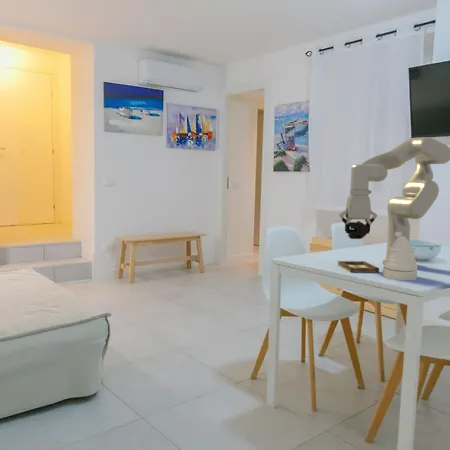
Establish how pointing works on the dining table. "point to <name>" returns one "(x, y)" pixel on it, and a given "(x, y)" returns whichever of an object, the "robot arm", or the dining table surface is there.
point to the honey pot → (400, 260)
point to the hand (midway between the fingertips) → (357, 233)
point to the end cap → (357, 230)
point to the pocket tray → (358, 266)
